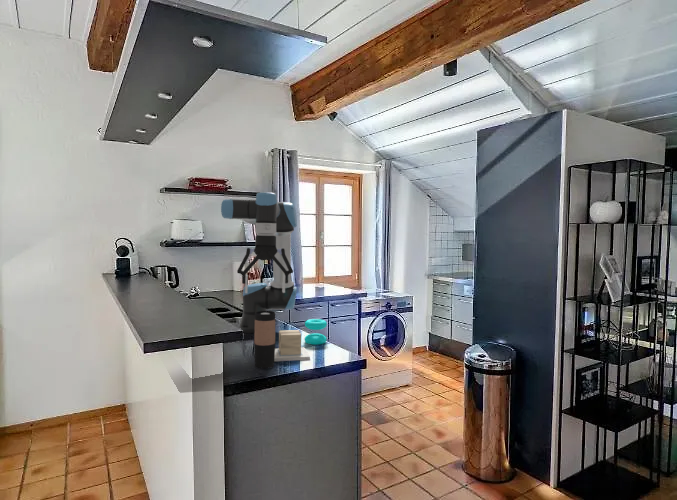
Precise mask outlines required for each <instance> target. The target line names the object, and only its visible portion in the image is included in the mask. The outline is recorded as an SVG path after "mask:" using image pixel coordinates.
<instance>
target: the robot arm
mask: <svg viewBox="0 0 677 500" xmlns="http://www.w3.org/2000/svg"><path fill="white" fill-rule="evenodd" d="M277 197H278V196H277V194H276V193H275V192H267V191H266V192H264V191H263V192H258V193H256V196H255V199H232V198H229V199H228V198H226V199H223V200H222V201H221V204H220V205H221V206H220V212H221V216H222V218H223V219H229V220H242V221H243V222H244V223H247V224H251V225H254V226H255V234H256V235H255V236H254V237H255V238H254V239H255V244H254V245H255V247H254V248H250V247H247V248H246V251H245V252H246V253H245V255H244V257H243V259H242V261H241V263H240V264H239V266H238V268H237V270H236V271H237V274H240V275H241V277H242V278H241V282H242V284H244V287H243V289H242V290H243V291H242V316H241V320H240V323H239V326H238V329H239V328H241V329H242V330H243V332H242V333H246V334H255V312H258V311H267V310H276V311H277V310H280V311H281V310H284V311H287V310H288V311H289V310H293V309H294V307H295V305H296V297H297V291H298V287H297V286H295V282H294V281H292V274H293V273H294V270H293V267H292V266H291V265H292V258H291V257H292V255H291V254H292V252H291V251H292V247H291V246H292V245H291V242H292V240H291V238H292V237H291V235H292V233H293V232H294V229H295V228H296V227H297V226H298V220H297V217H298V216H297V211H296V206H295V204H293V203H292V202H286V201H278V200H277ZM253 252H254V254H255V257H254V258H253V259H252V261H250V263H249V264H248V265H247V266H246V267H245V268H244V266H245V265H246V263H247V261H248V259H249V257H250V255H252V254H253ZM259 260H260V261H271V260H273V261H272V263H273V264H272V265H273V266H272V269H273V279H272V281H271V282H270V285H268V284H267V283H266V282H258V283H251V284H248V281H249V280H248V277H249V275H248V274H247V273H248V272H249V271H250V270H251V269H252V267H254V265H255V264H256V263H257V262H258V261H259ZM243 268H244V270H243Z"/></svg>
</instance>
